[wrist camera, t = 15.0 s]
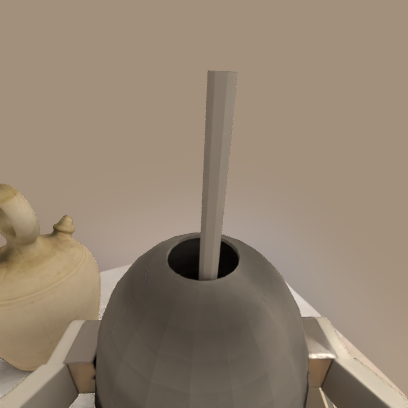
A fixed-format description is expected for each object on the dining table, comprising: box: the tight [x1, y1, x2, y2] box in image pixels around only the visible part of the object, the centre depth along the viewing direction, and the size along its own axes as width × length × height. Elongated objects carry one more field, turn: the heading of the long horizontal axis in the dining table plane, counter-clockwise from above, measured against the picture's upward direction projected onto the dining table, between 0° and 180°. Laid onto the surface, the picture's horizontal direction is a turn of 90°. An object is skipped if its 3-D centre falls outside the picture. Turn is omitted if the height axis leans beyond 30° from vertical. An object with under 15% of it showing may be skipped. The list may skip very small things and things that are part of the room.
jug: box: [0, 184, 100, 371], centre depth 30 cm, size 15×16×25 cm
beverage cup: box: [95, 71, 309, 408], centre depth 9 cm, size 7×7×20 cm
